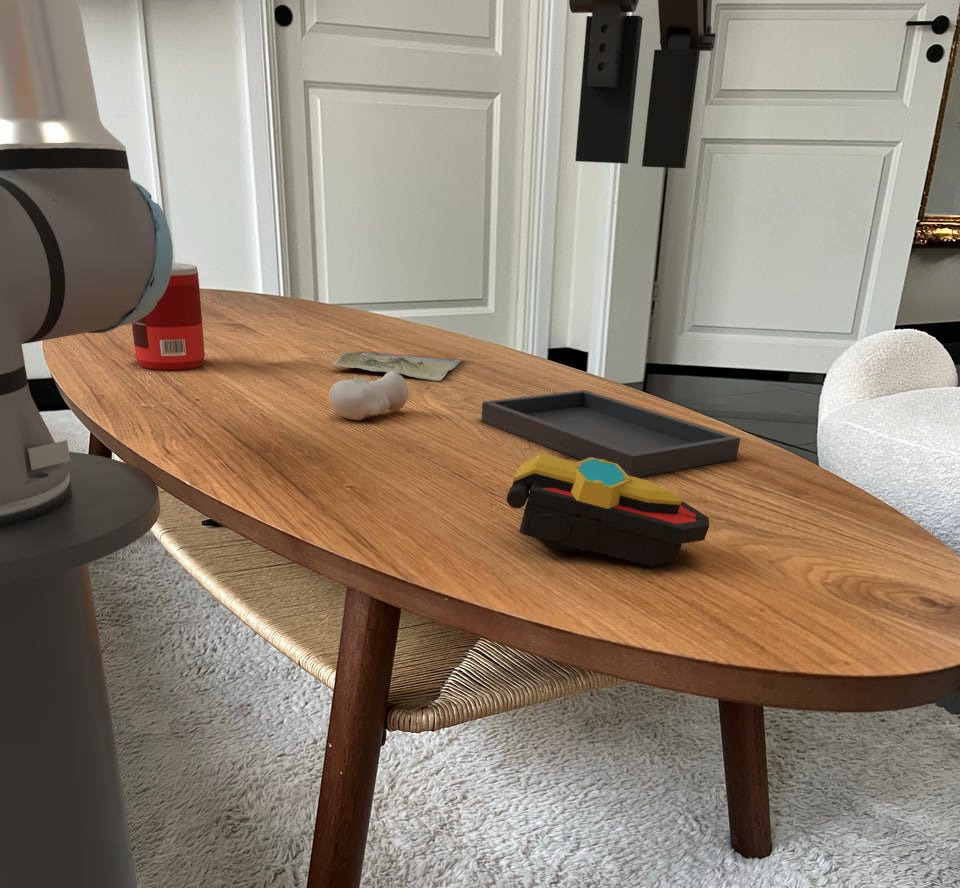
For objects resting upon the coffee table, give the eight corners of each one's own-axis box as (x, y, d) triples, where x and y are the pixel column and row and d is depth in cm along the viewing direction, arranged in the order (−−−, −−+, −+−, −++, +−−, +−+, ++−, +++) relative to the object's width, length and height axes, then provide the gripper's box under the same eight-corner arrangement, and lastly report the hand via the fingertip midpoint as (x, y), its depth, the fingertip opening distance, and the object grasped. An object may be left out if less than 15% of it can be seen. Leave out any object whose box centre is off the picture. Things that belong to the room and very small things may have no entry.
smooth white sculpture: (341, 435, 91) (321, 408, 94) (414, 427, 95) (393, 401, 98) (345, 396, 88) (324, 369, 91) (420, 389, 92) (399, 363, 95)
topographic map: (440, 381, 110) (441, 367, 110) (329, 368, 112) (330, 354, 111) (461, 365, 122) (462, 352, 122) (362, 353, 124) (362, 340, 123)
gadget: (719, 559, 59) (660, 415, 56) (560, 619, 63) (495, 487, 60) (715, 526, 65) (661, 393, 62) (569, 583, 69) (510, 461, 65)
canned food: (218, 363, 113) (211, 266, 108) (174, 373, 107) (164, 271, 102) (168, 355, 116) (159, 260, 111) (122, 365, 110) (109, 265, 105)
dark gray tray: (481, 421, 94) (481, 401, 93) (582, 408, 101) (584, 389, 101) (630, 479, 79) (633, 456, 78) (736, 459, 86) (740, 437, 85)
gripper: (712, -487, 34) (642, 162, 44) (797, -233, 55) (736, 171, 64) (522, -450, 37) (495, 156, 46) (671, -221, 57) (631, 166, 67)
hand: (635, 166), depth 55 cm, fingers open, 13 cm apart
